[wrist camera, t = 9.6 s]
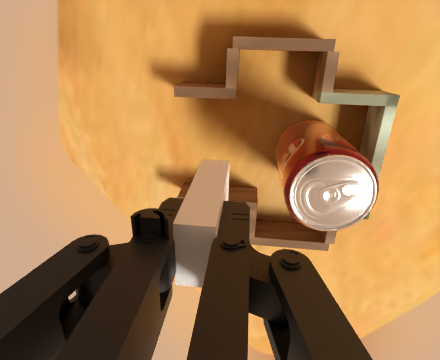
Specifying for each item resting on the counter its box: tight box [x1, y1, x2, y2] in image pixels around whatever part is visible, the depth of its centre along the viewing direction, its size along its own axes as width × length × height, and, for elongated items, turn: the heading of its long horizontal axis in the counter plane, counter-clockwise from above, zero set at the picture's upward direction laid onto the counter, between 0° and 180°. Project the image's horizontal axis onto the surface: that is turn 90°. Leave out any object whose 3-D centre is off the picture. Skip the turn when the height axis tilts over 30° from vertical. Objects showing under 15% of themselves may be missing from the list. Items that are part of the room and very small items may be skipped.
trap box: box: [174, 36, 400, 251], centre depth 33 cm, size 22×21×4 cm
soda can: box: [275, 120, 379, 231], centre depth 29 cm, size 7×7×12 cm
